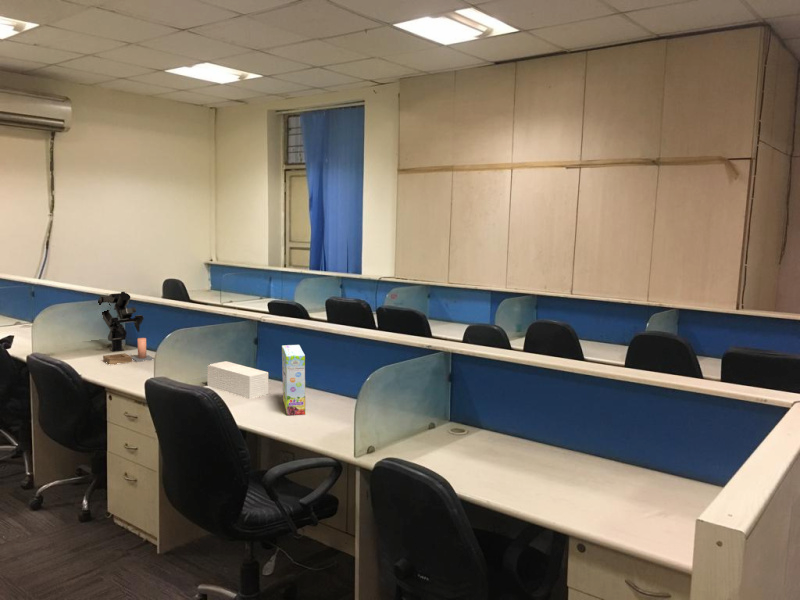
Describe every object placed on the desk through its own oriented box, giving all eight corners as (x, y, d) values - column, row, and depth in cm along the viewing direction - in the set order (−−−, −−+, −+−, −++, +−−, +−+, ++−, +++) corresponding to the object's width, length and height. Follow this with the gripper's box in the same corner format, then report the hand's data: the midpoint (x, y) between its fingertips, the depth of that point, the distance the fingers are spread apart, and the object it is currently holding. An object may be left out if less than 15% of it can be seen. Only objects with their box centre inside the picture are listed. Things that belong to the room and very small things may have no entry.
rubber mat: (130, 358, 356) (130, 357, 356) (148, 356, 363) (148, 355, 362) (136, 361, 349) (136, 360, 348) (154, 359, 355) (154, 358, 355)
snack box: (280, 401, 282) (281, 344, 279) (300, 400, 284) (301, 344, 281) (285, 416, 261) (285, 355, 258) (306, 415, 264) (306, 354, 260)
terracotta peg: (136, 358, 354) (135, 338, 353) (142, 356, 358) (142, 337, 357) (141, 358, 352) (141, 339, 351) (148, 357, 356) (147, 338, 355)
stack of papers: (207, 386, 304) (207, 364, 303) (226, 382, 312) (226, 361, 311) (249, 399, 284) (249, 376, 283) (268, 394, 292) (268, 372, 291)
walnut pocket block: (103, 361, 349) (103, 355, 348) (125, 358, 356) (124, 353, 356) (109, 365, 340) (109, 359, 340) (131, 362, 347) (131, 357, 347)
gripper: (109, 303, 357) (118, 325, 351) (142, 301, 370) (151, 322, 364) (104, 315, 363) (113, 337, 357) (136, 312, 377) (145, 333, 371)
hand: (131, 332), depth 362 cm, fingers open, 9 cm apart
